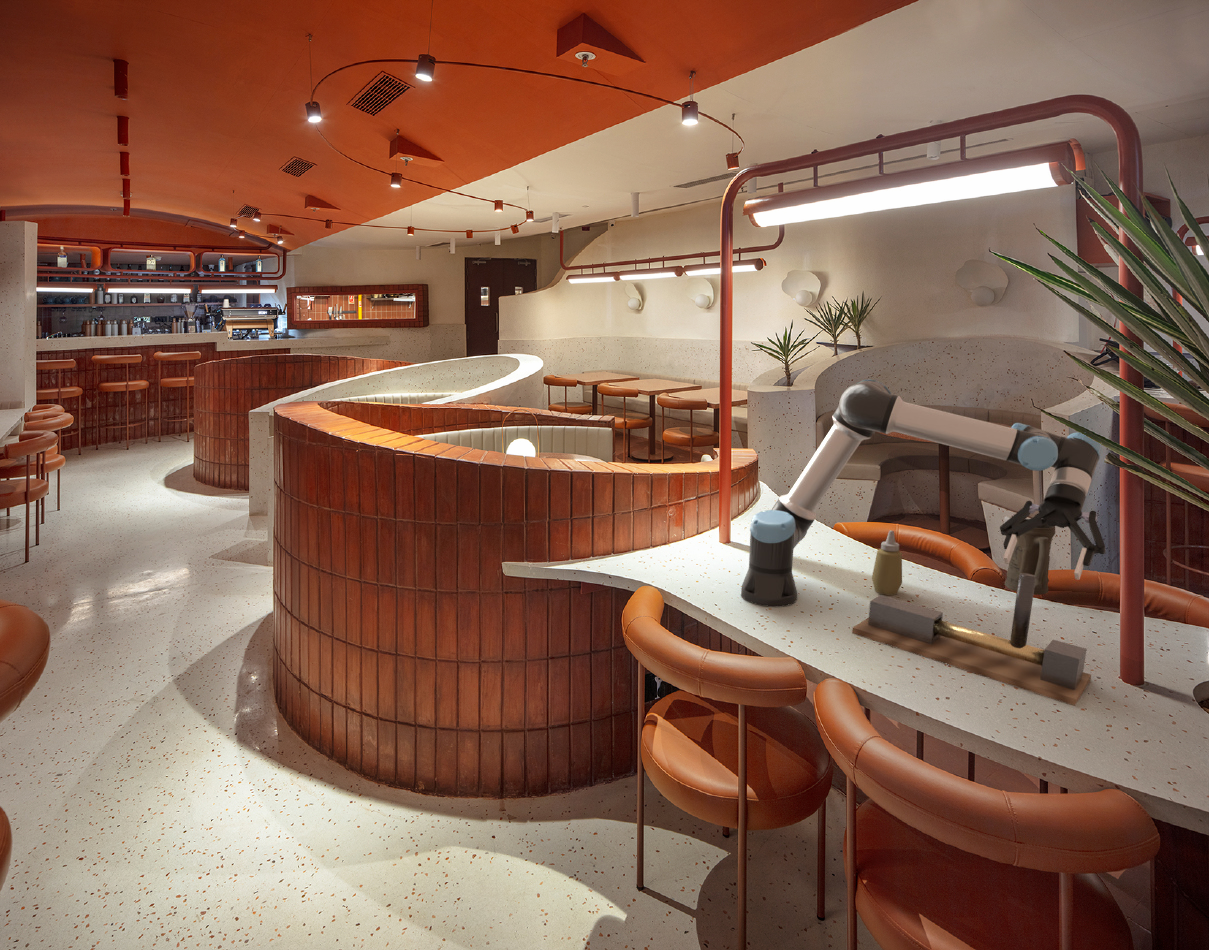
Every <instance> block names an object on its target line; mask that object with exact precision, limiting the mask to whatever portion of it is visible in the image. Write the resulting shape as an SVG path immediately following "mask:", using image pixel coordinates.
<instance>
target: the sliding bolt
mask: <svg viewBox="0 0 1209 950" xmlns="http://www.w3.org/2000/svg"><path fill="white" fill-rule="evenodd" d="M1035 580H1036V576H1034V575H1032V574H1027V573H1020V574H1019V580H1018V588H1017V592H1016V596H1015V604H1014V610H1013V618H1012V624H1011V631H1010V632H1011V633H1010V639H1007V638H1004V637H1001V636H997V635H994V634H990V633H987V632H983V631H980V630H976V629H973V628H969V627H966V626H962V625H958V624H957V623H956V624H955V623H952V622H948V621H946V620H945V621H944V620H942V621H941V620H936V621H935V626H934V634H937V635H941V636H944V637H947V638H951V639H954V640H957V641H961V642H964V643H967V644H971V645H974V646H977V647H981V648H984V649H987V650H991V651H994V652H997V653H1001V654H1004V655H1007V656H1011V657H1014V658H1017V659H1021V660H1024V661H1027V662H1031V663H1034V664H1037V665H1040V666H1042V664H1043V657H1044V651H1045V649H1043V648H1039V647H1035V646H1032V645H1029V644H1027V641H1028V638H1029V637H1028V634H1029V630H1030V629H1029V627H1030V622H1031V613H1032V608H1033V600H1034V595H1033V594H1034V587H1035Z"/></svg>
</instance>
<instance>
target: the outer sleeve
mask: <svg viewBox="0 0 1209 950" xmlns="http://www.w3.org/2000/svg"><path fill="white" fill-rule="evenodd" d="M943 616H944V612H943V611H940V610H937V609H933V608H928V607H925V606H921V605H918V604H914V603H911V602H907V601H904V600H900V599H896V598H893V597H889V596H885V595H883V594H879V595H878V596H876V597H874V598H873V599H871V600H870V601H869V612H868V617H869V621H868V625H870V626H873V627H876V628H880V629H883V630H886V631H889V632H892V633H896V634H899V635H902V636H905V637H908V638H912V639H915V640H918V641H921V642H925V643H928V644H933V643H934V642H935V641H936V640H937V639H939V638H940V635H937V634H934V626H935V621H936V620H941V621H943Z"/></svg>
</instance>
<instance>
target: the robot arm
mask: <svg viewBox="0 0 1209 950" xmlns="http://www.w3.org/2000/svg"><path fill="white" fill-rule="evenodd" d="M838 403H839V404H838V406H837V408H836V409H835V411H834V412H833V414H832V416H831V417H832V422H833V425H832V426H831V428H830V430H829V431H828V432H827V434H826V436H824V439H823V440H822V441H821V443H820V445H819V446H818V448H817V449H816V450H815V452H814V454H813V455H812V457H811V458H810V460H809V461H808V463H807V464H806V466H805V467H804V468H803V471H802V472H801V473H800V475H799V477H798V478H797V480H796V481H795V483H794V484H793V486H792V487H791V489H790V490H789V492H788V493H787V494H786V493H785V494H781V495H780V496H779V498H778V499H777V500H776V502H775V504H774V505H773V507H772V509H768V510H764V511H759V512H757V513H755V514H754V515H753V517H752V518H751V523H750V526H749V527H750V528H749V531H750V534H749V536H750V538H749V555H748V556H749V559H748V569H747V572H746V575H745V577H744V579H743V582H742V584H741V588H740V589H741V590H740V593H741V598H743V599H744V600H746V601H748V602H749V603H752V604H755V605H759V606H763V607H770V608H771V607H774V608H776V607H787V606H790V605H793V604H795V603H796V601H797V599H798V590H797V585H796V581H795V578H794V574H793V564H794V563H793V560H794V549H795V548H796V547H797V545H798V544H799V543H800V542H801V541H802V540H803V539H804V538H806V535H807V533H808V530H809V529H810V527H811V526H812V524H813V523H814V522H815V520H816V519H817V515H816V511H815V510H816V509H817V507H818V506H819V504H820V503H821V501H822V500H823V499H824V497H825V496H826V494H827V492H828V491H829V489H830V488H832V487H831V486H832V485H833V484H834V482H835V481H836V480H837V478H838V477H839V475H840V474H841V472H842V470H843V469H844V468H845V466H846V464H847V463H848V462H849V460H850V459H851V457H852V456H853V455H854V453H855V452H856V450H857V449H858V447H859V446H860V445H861V442H863V441H864V440H869V439H871V438H872V436H873V435H874V434H875V432H876V433H877V432H878V433H881V434H886V435H888V434H890V433H893V432H894V433H898V434H902V435H905V436H910V437H913V438H916V439H921V440H925V441H928V442H929V441H930V442H933V443H937V444H941V445H944V446H950V447H952V448H957V449H961V450H965V451H969V452H972V453H976V454H980V455H984V456H987V457H990V458H995V459H999V460H1002V461H1007V462H1010V463H1013V464H1016V465H1020V466H1023V467H1024V468H1025V469H1028V470H1031V471H1035V472H1037V471H1044V470H1047V469H1050V468H1055V469H1054V471H1053V474H1052V477H1051V479H1050V482H1049V484H1048V488H1047V490H1046V493H1045V496H1044V498H1043V501H1042V502H1041V504H1036V503H1033V502H1032V501H1031V500H1026V502H1025V504H1024V505H1023V507H1022V508H1020V509H1019V510H1018V511H1017V512H1016V513H1015V514H1013V515H1012V516H1011V517H1010V518H1009V519H1007V520H1006V521H1005V522H1004V523H1003V524H1002V525H1000V526H999V531H1000V534H1001V536H1005V539H1004V541H1003V543H1002V544H1003V549H1004V550H1005V552H1004V554H1003V557H1002V558H1003V561H1004V564H1005V565H1009V562H1010V559H1011V556H1012V554H1013V551H1014V548H1015V546H1016V543H1017V538H1016V537H1018V536H1020V535H1022V534H1024V533H1026V532H1028V531H1030V530H1032V529H1034V528H1036V527H1038V526H1042V525H1044V524H1048V525H1049V526H1055V527H1057V528H1061V529H1065V528H1067V527H1068V528H1069V530H1070V532H1072V534H1073V535H1074V536H1075V537H1076V539H1077V541H1079V543H1080V545H1081V546H1082V548H1081V551H1080V555H1079V558H1078V559H1077V563H1076V566H1075V570H1074V572H1073V574H1074V579H1075V580H1077V581H1078V580H1080V579H1081V575H1082V574H1083V569H1084V566H1086V567H1090V566H1091V564H1092V561H1093V558H1094V555H1096V554H1100V555H1105V554H1106V544H1105V542H1104V539H1103V537H1102V534H1101V531H1100V528H1099V525H1098V523H1097V521H1098V519H1097V511H1095V510H1090V511H1089V512H1084V511H1083V512H1082V510H1083V507H1084V504H1085V501H1086V498H1087V497H1086V496H1087V495H1088V492H1089V489H1090V486H1091V483H1092V479H1093V477H1094V473H1095V471H1096V467H1097V465H1098V463H1099V461H1100V458H1101V457H1100V456H1101V452H1102V446H1103V444H1102V443H1101V444H1102V445H1101V444H1100V443H1098V442H1096V441H1093V439H1091V438H1088V437H1087V436H1086V435H1084V434H1082V432H1079V431H1077V432H1073V433H1071V434H1069V435H1067V437H1065V436H1060V435H1058V434H1055V433H1051V432H1048V431H1046V430H1043V429H1040V428H1037V427H1034V426H1032V425H1029V424H1024V423H1021V422H1015V423H1013V425H1011V427H1008V426H1004V425H1001V424H996V423H992V422H988V421H986V420H980V419H975V418H972V417H969V416H964V415H959V414H956V413H952V412H948V411H945V410H940V409H935V408H930V407H926V406H922V405H919V404H915V403H911V402H905V401H904V400H903V399H902V398H901V396H899V395H896V394H895V395H894V394H892V392H891V391H890V389H889V388H888V387H887V386H886V385H885V384H883V383H882V382H879V381H878V380H874V379H864V380H861V381H859V382H857V383H854V384H852V385H851V386H849V387H847V388H846V389H845V390H844V392H843V393H842V394H841V396H840V399H839V402H838ZM1035 512H1038V513H1036V514H1035V515H1034V513H1035ZM1031 514H1033V515H1034V516H1033V517H1031V518H1028V517H1029V516H1030V515H1031ZM1025 519H1029V520H1027V521H1025V522H1023V523H1021V522H1022V521H1023V520H1025ZM1081 519H1084V521H1085V523H1087V524H1089V525H1088V526H1089V529H1090V532H1091V535H1092V537H1093V540H1094V543H1095V544H1094V543H1092V541H1091V540H1090V538H1089V537H1088V536H1087V535H1086V533H1085V532H1084V531H1083V529H1082V528H1081V526H1080V525H1079V524H1078V521H1081ZM1020 523H1021V524H1020ZM1018 524H1019V525H1018Z"/></svg>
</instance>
